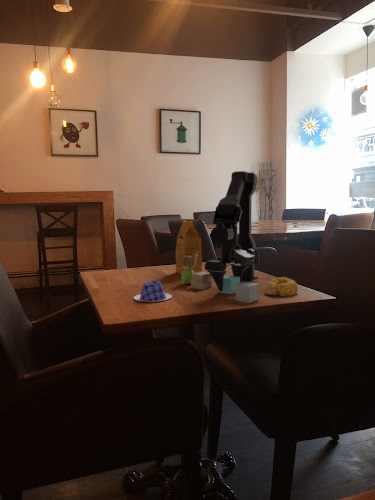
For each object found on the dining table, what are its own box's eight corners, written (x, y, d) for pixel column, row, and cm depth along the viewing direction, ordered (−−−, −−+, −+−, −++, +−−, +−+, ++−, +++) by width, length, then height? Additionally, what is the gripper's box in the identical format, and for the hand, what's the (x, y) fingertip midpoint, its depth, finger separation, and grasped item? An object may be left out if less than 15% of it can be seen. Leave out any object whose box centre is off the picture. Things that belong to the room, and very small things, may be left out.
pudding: (152, 293, 139) (152, 277, 138) (179, 297, 131) (179, 281, 130) (125, 300, 130) (125, 283, 129) (153, 305, 122) (152, 288, 121)
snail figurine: (197, 285, 147) (196, 252, 146) (179, 285, 149) (179, 252, 147) (200, 282, 153) (199, 250, 151) (183, 282, 154) (182, 250, 153)
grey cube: (245, 297, 128) (244, 281, 128) (258, 299, 125) (258, 283, 124) (235, 300, 125) (235, 284, 124) (249, 303, 121) (249, 286, 121)
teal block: (227, 289, 140) (227, 275, 140) (240, 291, 137) (239, 276, 136) (218, 292, 136) (218, 277, 136) (231, 294, 133) (230, 279, 133)
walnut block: (200, 285, 148) (200, 271, 147) (211, 287, 145) (211, 273, 144) (191, 288, 144) (190, 273, 144) (202, 289, 141) (202, 275, 140)
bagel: (257, 292, 135) (257, 278, 135) (285, 289, 140) (285, 275, 139) (275, 298, 126) (275, 283, 126) (304, 294, 130) (304, 280, 130)
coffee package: (195, 270, 180) (194, 219, 177) (204, 274, 168) (203, 220, 165) (173, 271, 177) (171, 220, 174) (181, 276, 165) (179, 221, 162)
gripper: (232, 245, 122) (232, 297, 124) (265, 240, 136) (265, 286, 138) (203, 243, 130) (204, 292, 132) (237, 238, 144) (237, 282, 145)
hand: (229, 288), depth 136 cm, fingers open, 9 cm apart
